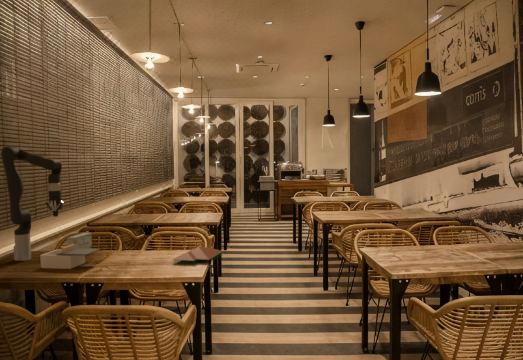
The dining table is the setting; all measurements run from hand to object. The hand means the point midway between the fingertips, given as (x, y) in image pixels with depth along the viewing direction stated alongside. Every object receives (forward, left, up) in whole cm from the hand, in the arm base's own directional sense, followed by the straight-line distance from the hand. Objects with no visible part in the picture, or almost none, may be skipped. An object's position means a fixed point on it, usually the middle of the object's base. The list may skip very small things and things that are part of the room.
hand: (55, 216), depth 303 cm
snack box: (+9, +12, -29) cm, 33 cm away
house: (+93, +13, -30) cm, 98 cm away
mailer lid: (+23, -12, -21) cm, 33 cm away
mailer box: (+12, -12, -29) cm, 34 cm away
